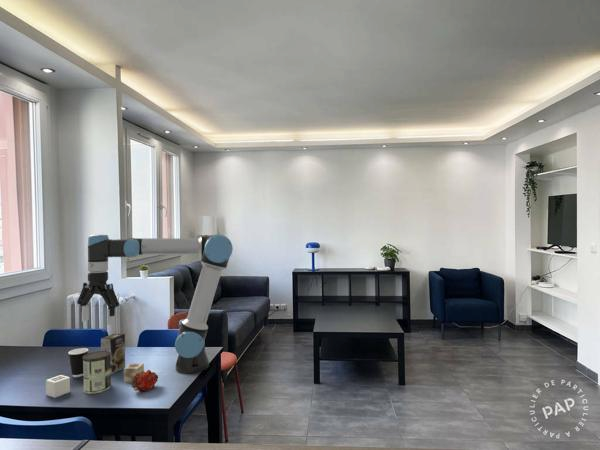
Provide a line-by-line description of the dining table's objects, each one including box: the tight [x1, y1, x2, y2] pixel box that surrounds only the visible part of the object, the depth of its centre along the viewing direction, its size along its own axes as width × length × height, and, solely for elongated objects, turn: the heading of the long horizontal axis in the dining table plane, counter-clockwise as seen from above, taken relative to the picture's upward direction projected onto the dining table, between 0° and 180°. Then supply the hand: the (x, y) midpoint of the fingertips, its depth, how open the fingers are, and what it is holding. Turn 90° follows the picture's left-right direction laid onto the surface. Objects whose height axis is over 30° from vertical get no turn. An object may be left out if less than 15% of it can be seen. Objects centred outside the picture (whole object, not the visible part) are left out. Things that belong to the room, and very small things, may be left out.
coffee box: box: [100, 333, 126, 375], centre depth 178 cm, size 9×6×16 cm
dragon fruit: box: [131, 369, 159, 393], centre depth 157 cm, size 8×8×12 cm
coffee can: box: [83, 350, 112, 395], centre depth 158 cm, size 10×10×14 cm
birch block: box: [123, 362, 145, 383], centre depth 167 cm, size 6×6×6 cm
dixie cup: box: [68, 347, 89, 378], centre depth 173 cm, size 8×8×11 cm
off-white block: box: [45, 374, 71, 399], centre depth 154 cm, size 6×6×6 cm
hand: (97, 322), depth 159 cm, fingers open, 13 cm apart
